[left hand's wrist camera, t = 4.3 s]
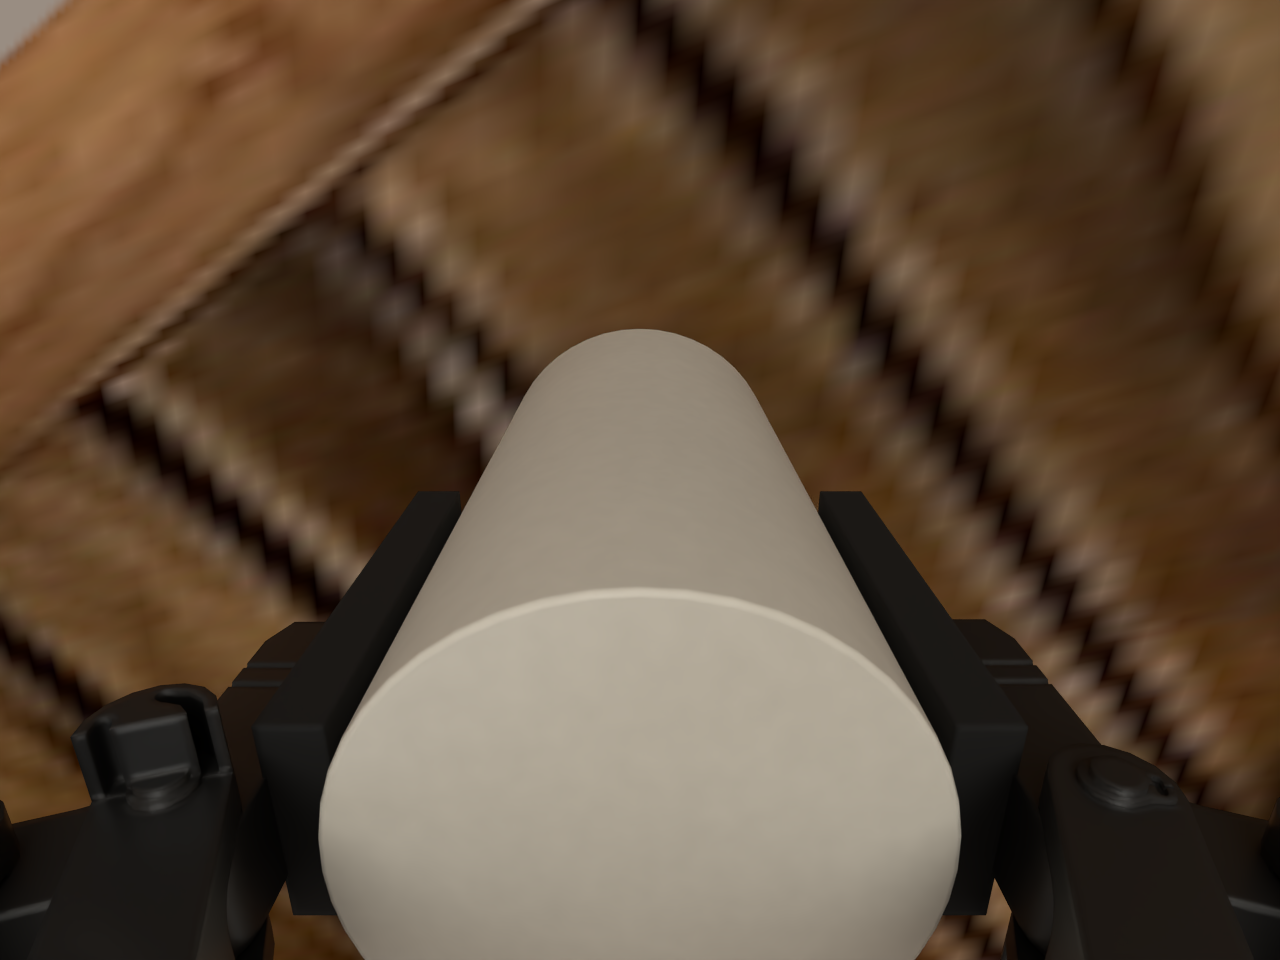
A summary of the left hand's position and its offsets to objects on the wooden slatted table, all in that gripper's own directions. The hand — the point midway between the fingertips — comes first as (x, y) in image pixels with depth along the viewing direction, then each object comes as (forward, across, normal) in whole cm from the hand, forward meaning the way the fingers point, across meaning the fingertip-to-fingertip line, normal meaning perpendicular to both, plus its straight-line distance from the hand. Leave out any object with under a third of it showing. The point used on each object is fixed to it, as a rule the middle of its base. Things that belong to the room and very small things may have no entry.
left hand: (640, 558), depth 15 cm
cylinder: (+6, 0, 0) cm, 6 cm away
